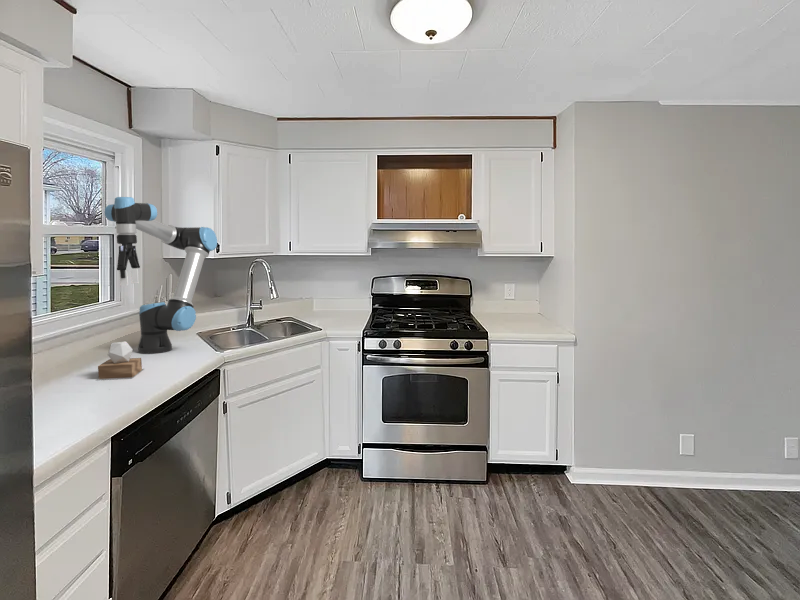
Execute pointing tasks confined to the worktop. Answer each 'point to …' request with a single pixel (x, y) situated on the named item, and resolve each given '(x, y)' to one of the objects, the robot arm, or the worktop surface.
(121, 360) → the die
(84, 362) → the worktop surface
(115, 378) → the base plate
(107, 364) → the walnut brick
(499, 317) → the worktop surface
